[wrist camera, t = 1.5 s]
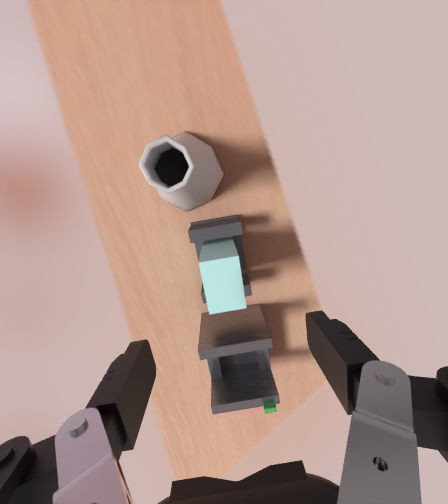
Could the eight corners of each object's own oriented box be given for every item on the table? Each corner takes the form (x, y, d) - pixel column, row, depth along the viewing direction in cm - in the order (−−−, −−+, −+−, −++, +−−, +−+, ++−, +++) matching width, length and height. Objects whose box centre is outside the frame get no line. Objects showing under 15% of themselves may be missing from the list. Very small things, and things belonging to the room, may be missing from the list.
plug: (202, 238, 25) (197, 262, 17) (231, 233, 25) (239, 255, 17) (210, 276, 26) (208, 314, 18) (237, 271, 26) (247, 308, 18)
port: (201, 313, 28) (197, 355, 21) (258, 303, 28) (273, 342, 21) (213, 368, 30) (213, 422, 23) (266, 360, 30) (281, 410, 23)
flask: (236, 175, 24) (251, 168, 14) (186, 223, 25) (169, 247, 15) (185, 116, 22) (163, 64, 12) (134, 171, 23) (79, 161, 14)
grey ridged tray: (191, 222, 25) (187, 228, 21) (237, 214, 25) (240, 219, 21) (205, 289, 27) (203, 305, 24) (247, 282, 27) (252, 296, 24)
